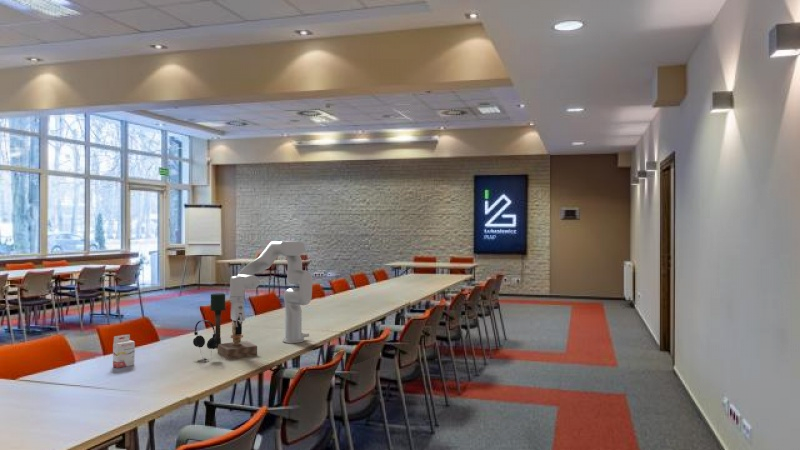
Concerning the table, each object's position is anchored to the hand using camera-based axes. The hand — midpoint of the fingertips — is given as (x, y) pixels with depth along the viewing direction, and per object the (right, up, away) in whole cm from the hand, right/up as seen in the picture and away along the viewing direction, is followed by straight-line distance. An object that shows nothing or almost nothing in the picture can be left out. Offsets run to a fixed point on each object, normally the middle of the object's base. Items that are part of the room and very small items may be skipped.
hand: (236, 333), depth 304 cm
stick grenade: (-16, -12, +18) cm, 27 cm away
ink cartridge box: (-48, -12, -25) cm, 55 cm away
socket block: (0, -11, 0) cm, 11 cm away
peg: (0, -7, 0) cm, 7 cm away
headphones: (-14, -12, -12) cm, 22 cm away
